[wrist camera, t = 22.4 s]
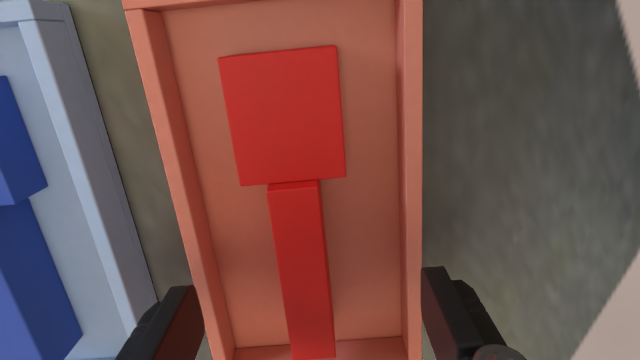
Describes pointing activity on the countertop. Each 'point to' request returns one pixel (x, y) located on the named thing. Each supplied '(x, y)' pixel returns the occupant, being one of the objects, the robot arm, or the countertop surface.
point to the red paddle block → (291, 171)
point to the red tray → (337, 194)
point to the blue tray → (75, 177)
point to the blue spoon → (27, 253)
